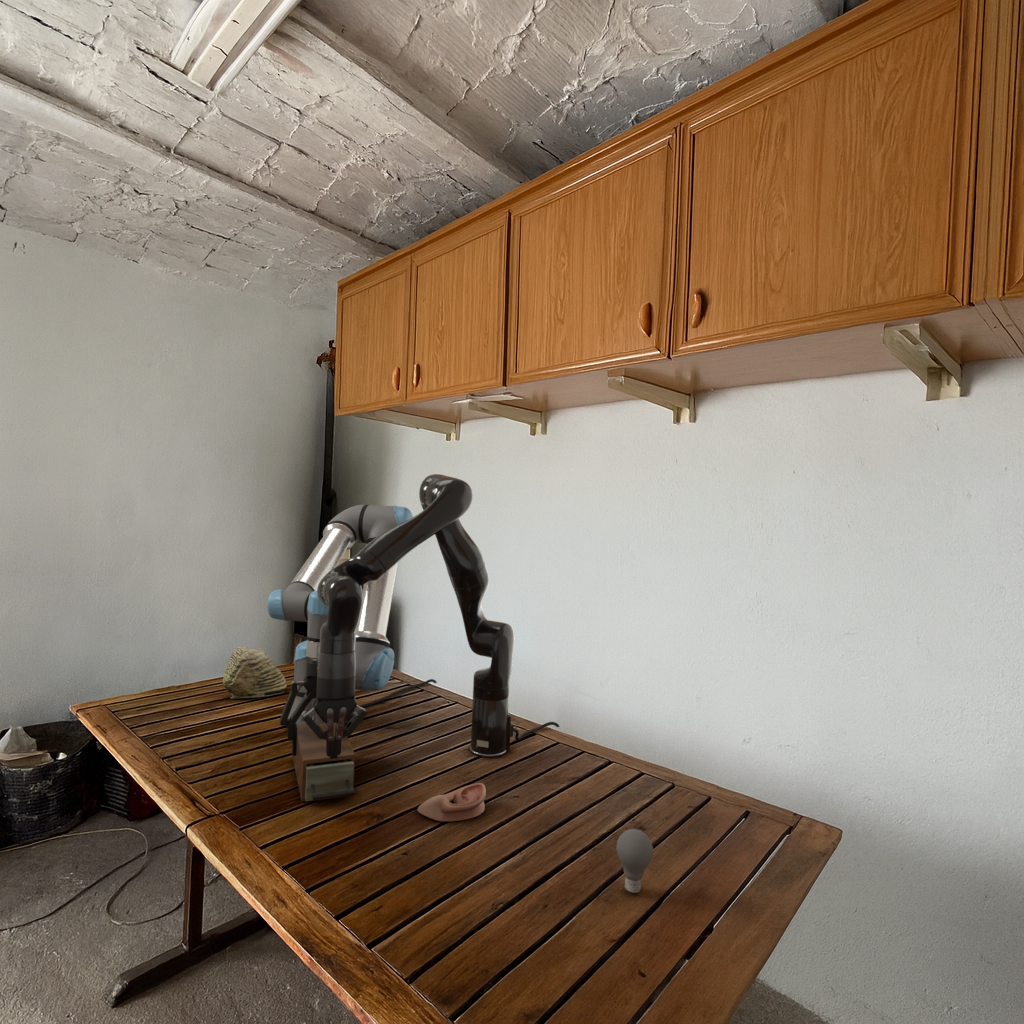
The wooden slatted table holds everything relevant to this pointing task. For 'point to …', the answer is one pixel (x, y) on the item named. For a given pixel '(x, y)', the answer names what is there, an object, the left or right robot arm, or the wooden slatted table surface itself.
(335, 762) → the drawer
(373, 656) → the left robot arm
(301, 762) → the cabinet
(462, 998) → the wooden slatted table surface
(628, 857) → the light bulb
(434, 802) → the anatomical model
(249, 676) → the fossil
